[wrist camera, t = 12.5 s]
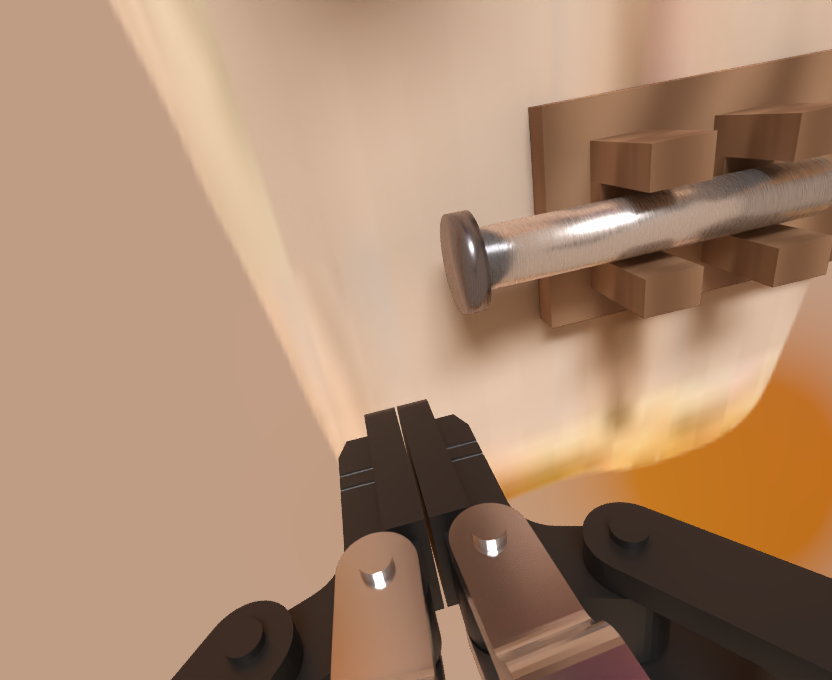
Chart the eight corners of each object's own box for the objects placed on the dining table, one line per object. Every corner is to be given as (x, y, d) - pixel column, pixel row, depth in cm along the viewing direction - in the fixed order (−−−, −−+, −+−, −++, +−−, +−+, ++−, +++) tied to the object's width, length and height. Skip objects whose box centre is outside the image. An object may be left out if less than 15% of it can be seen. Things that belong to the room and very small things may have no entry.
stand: (961, 24, 27) (1141, -5, 21) (902, 232, 32) (1034, 255, 26) (528, 107, 25) (595, 101, 19) (540, 318, 30) (596, 365, 24)
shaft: (776, 135, 26) (869, 137, 21) (763, 224, 28) (845, 242, 23) (435, 207, 24) (461, 225, 19) (448, 296, 26) (474, 330, 21)
